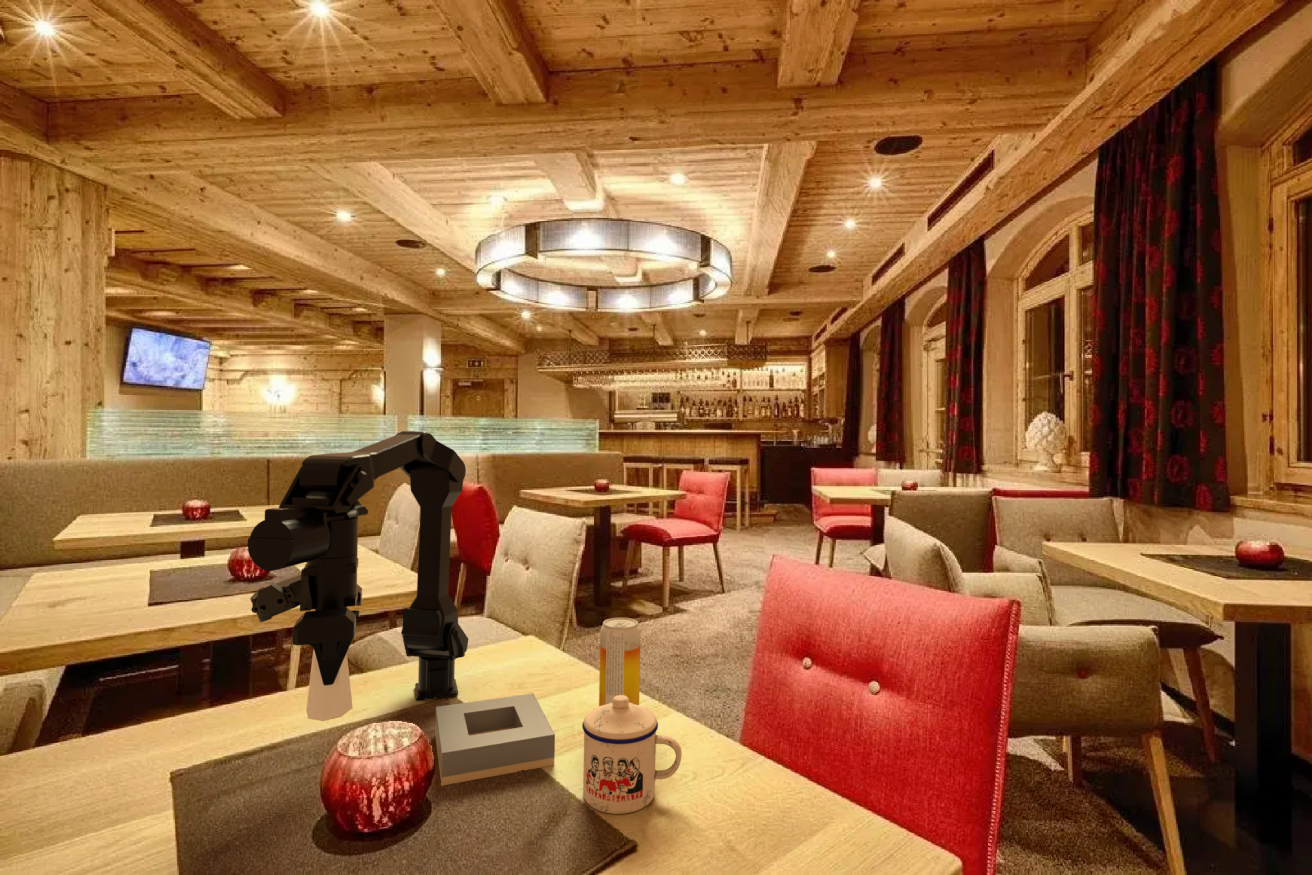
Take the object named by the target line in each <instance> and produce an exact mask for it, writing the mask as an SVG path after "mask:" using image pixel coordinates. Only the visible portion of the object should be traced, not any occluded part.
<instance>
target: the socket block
mask: <svg viewBox="0 0 1312 875" xmlns="http://www.w3.org/2000/svg"><path fill="white" fill-rule="evenodd" d="M434 732H435V733H434V735H435V737H434V738H435V743H436V752H437V760H438V768H439V776H440V778H439V779H440V785H441V786H442V787H443V786H447V785H448V786H449V785H453V783H454V784H459V783H464V782H469V781H475V780H480V779H485V778H490V777H491V778H492V777H497V776H502V775H508V774H513V773H517V772H518V771H519V772H522V771H521V770H524V771H529V769H530V770H535V769H540V768H545V767H550V766H555V759H556V758H555V755H556V752H555V751H556V750H555V749H556V747H555V744H556V734H555V732H554V730H553V728H552V726H551V724H550V722H549V720H548V718H547V717H546V714H545V713H544V710H543V709H542V707H541V705H540V703H539V701H538V699H537V697H536V695H535V693H534V692H533V693H528V694H527V693H526V694H520V695H512V696H505V697H498V698H491V699H490V698H489V699H483V700H474V701H468V702H461V703H455V704H447V705H446V704H445V705H441V706H440V705H439V706H435V729H434Z"/></svg>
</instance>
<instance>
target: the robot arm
mask: <svg viewBox="0 0 1312 875" xmlns="http://www.w3.org/2000/svg"><path fill="white" fill-rule="evenodd" d="M399 468H400V469H401V470H402V471H403V473H405V474H406V475H407V476H408V478H409V487H410V492H411V494H412V496H413V497H414V499H415V501H416V502H417V504H418V506H419V511H420V512H419V527H418V528H419V530H418V531H419V532H418V553H417V554H418V555H417V578H416V579H417V580H416V581H417V582H416V597H415V598H414V599H413V601H412V603H411V604H410V605H409V607H408V608H405V609H404V610H403V612H402V627H401V632H400V634H401V636H402V641H403V645H404V651H405V654H406V655H405V656H406V657H408V658H409V657H413V658H414V657H416V658H418V673H417V674H418V676H417V678H418V680H417V681H418V682H415V684H414V689H415V700H416V701H423V700H430V699H432V700H433V699H437V698H439V699H440V698H444V697H445V698H446V697H453V696H457V695H459V689H458V684H457V680H456V679H455V666H456V663H455V662H456V661H455V660H457V659H459V658H464V657H465V656H466V655H465V654H466V652H467V650H468V644H469V637H468V635H466V633H465V631H464V630H463V629H462V627H461V625H460V623H459V613H458V612H459V611H458V608H457V606H456V605H455V602H454V601H453V599H452V597H451V596H450V594H449V582H450V556H451V554H450V552H451V531H452V510H453V509H452V508H453V506H454V504H455V503H456V501H457V500H458V497H459V496H460V495H461V494H462V492H463V487H464V480H465V477H466V473H467V472H466V468H467V467H466V464H465V462H464V461H463V459H462V458H461V457H460V456H459V454H458V453H457V452H456V451H455V450H454V449H453V448H450V447H448V446H447V445H445V444H444V443H442V442H439V441H438V440H437V439H436V438H435V437H434V436H433V435H432V433H430V432H427V431H424V430H421V431H419V430H403V431H401V432H397V433H396V434H395V435H394V436H390V437H388V438H384V439H382V440H380V441H377V442H375V443H372V444H369V445H367V446H364V447H361V448H358V449H356V450H353V451H347V452H332V453H320V454H312V455H309V456H307V457H306V458H305V459H303V461H302V462H301V466H300V468H299V469H298V471H297V473H296V475H295V477H294V479H293V480H292V482H291V483H290V486H289V488H288V489H287V491H286V493H285V495H284V497H283V498H282V501H281V502H280V503H279V505H278V507H272V508H265V510H264V520H262V521H259V522H258V523H257V524H256V525H255V526H254V527H253V529H252V531H251V532H250V536H249V537H248V539H247V551H248V554H249V557H250V559H251V561H252V562H253V563H254V564H255V566H257V567H258V568H260V569H261V570H264V571H266V572H273V571H278V570H282V569H285V568H289V567H293V566H297V565H302V564H305V565H304V568H301V570H300V574H299V575H296V576H291V577H289V578H287V579H284V580H282V581H279V582H272V583H271V584H268V585H267V586H260V588H259V589H258V590H257V591H255V592H254V593H253V594H252V596H250V598H249V599H250V602H251V605H252V607H251V612H252V613H253V614H256V616H257V618H258V621H259V622H260V623H263V622H267V621H270V620H272V619H273V617H275V616H278V615H281V614H283V613H285V612H287V611H290V610H294V609H295V608H297V607H298V608H299V612H304V613H302V615H301V616H300V617H299V618H297V620H296V622H295V623H294V625H293V627H292V645H294V646H305V645H306V646H307V645H308V646H310V647H312V649H313V650H314V651H315V655H316V658H317V662H318V666H319V670H320V674H321V678H322V681H323V685H332V684H333V683H334V681H335V679H336V677H337V674H338V672H339V669H340V667H341V665H342V662H343V660H344V658H345V655H346V653H347V654H348V651H349V649H350V647H351V643H352V641H353V639H355V634H356V631H357V626H356V624H357V622H358V619H359V617H360V612H361V611H360V610H358V609H357V610H351V609H349V608H348V607H359V606H360V607H361V605H362V602H363V587H361V585H359V584H358V568H359V557H358V550H359V549H358V548H359V547H358V543H359V542H358V540H359V535H358V534H359V517H361V516H366V515H368V514H369V509H367V507H366V506H365V505H363V504H362V503H361V502H360V501H359V500H360V499H361V498H363V497H364V496H365V495H366V494H368V493H369V492H370V491H371V490H373V489H374V487H375V482H376V480H377V479H378V478H380V477H383V476H385V475H387V474H388V473H391V472H393V471H395V470H397V469H399Z"/></svg>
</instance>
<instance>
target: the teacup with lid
mask: <svg viewBox="0 0 1312 875" xmlns="http://www.w3.org/2000/svg"><path fill="white" fill-rule="evenodd" d="M658 728H659V722H658V720H657V716H656V715H655V714H654V712H653V711H652V710H650V709H649V708H648V707H644V706H642V705H640V704H639V705H635V704H632V703H630V702H629V699H628V697H627V696H624V695H617V696H615V697H614V698H613V700H612V703H609V704H606V705H602V706H599V705H598V706H596V707H595V708H593V709H591V710H590V711H589V712H587V713H586V715H585V716H584V718H583V721H582V730H583V735H584V736H583V780H582V781H583V786H582V787H583V788H582V794H583V797H584V801H585V802H586V803H587V804H588V805H589V806H590V807H591V808H593V809H595V810H597V811H600V812H602V813H607V814H613V815H620V814H621V815H623V814H630V813H633V812H638V811H640V810H641V809H644V808H645V807H647V806H648V805H649V804H650V803H651V802H652V801H653V798H654V797H655V792H656V791H655V790H656V780H665V779H668V778H671V777H672V776H673V775H674V774H676V772H677V771H678V769H679V768H680V765H681V762H682V748H681V745H680V743H679V742H678V741H677V740H676V739H675V738H673V737H671V736H669V735H664V734H663V735H661V734H657V730H658ZM657 744H658V745H666V746H668V747H670V748H672V749H673V751H674V754H675V759H674V761H673V763H672V764H671V766H669V767H668V768H666V769H662V770H656V754H657V753H656V748H657V747H656V745H657Z"/></svg>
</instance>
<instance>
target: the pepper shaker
mask: <svg viewBox="0 0 1312 875" xmlns="http://www.w3.org/2000/svg"><path fill="white" fill-rule="evenodd" d="M348 660H349V659H348V652H347V653H346V655H345V658H344V660H343V662H342V665H341V667H340V669H339V672H338V674H337V677H336V679H335V681H334V683H333V684H332V685H323V681H322V678H321V674H320V670H319V666H318V662H317V658H316V655H315V651H314V649H313V650H312V657H311V666H310V674H309V676H310V677H309V684H308V691H307V693H308V694H307V700H306V701H307V702H306V708H305V709H306V714H307V718H308V720H314V721H320V722H325V721H330V720H333V719H337V718H338V719H339V718H342V717H343V716H344V715H346V714H347V713H348V712H350V711H351V710H353V708H354V707H353V699H352V698H353V697H352V687H351V682H350V681H351V680H350V679H351V678H350V672H349V671H350V670H349V661H348Z"/></svg>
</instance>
